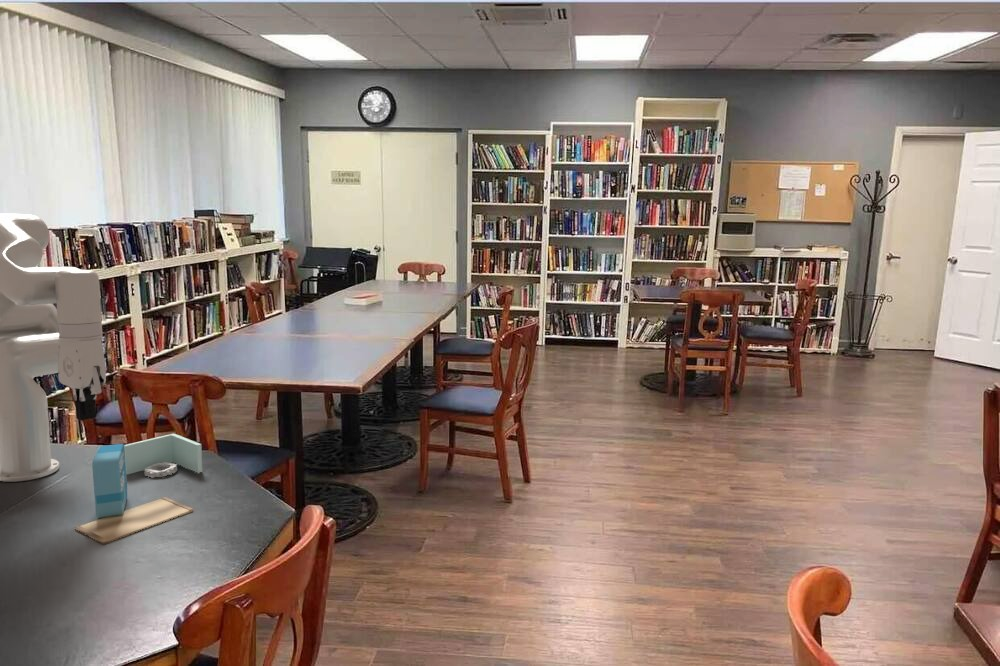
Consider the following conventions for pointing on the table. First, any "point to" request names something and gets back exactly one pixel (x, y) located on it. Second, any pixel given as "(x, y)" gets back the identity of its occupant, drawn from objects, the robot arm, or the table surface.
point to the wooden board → (134, 520)
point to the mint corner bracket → (163, 455)
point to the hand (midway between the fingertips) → (86, 418)
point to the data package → (110, 480)
